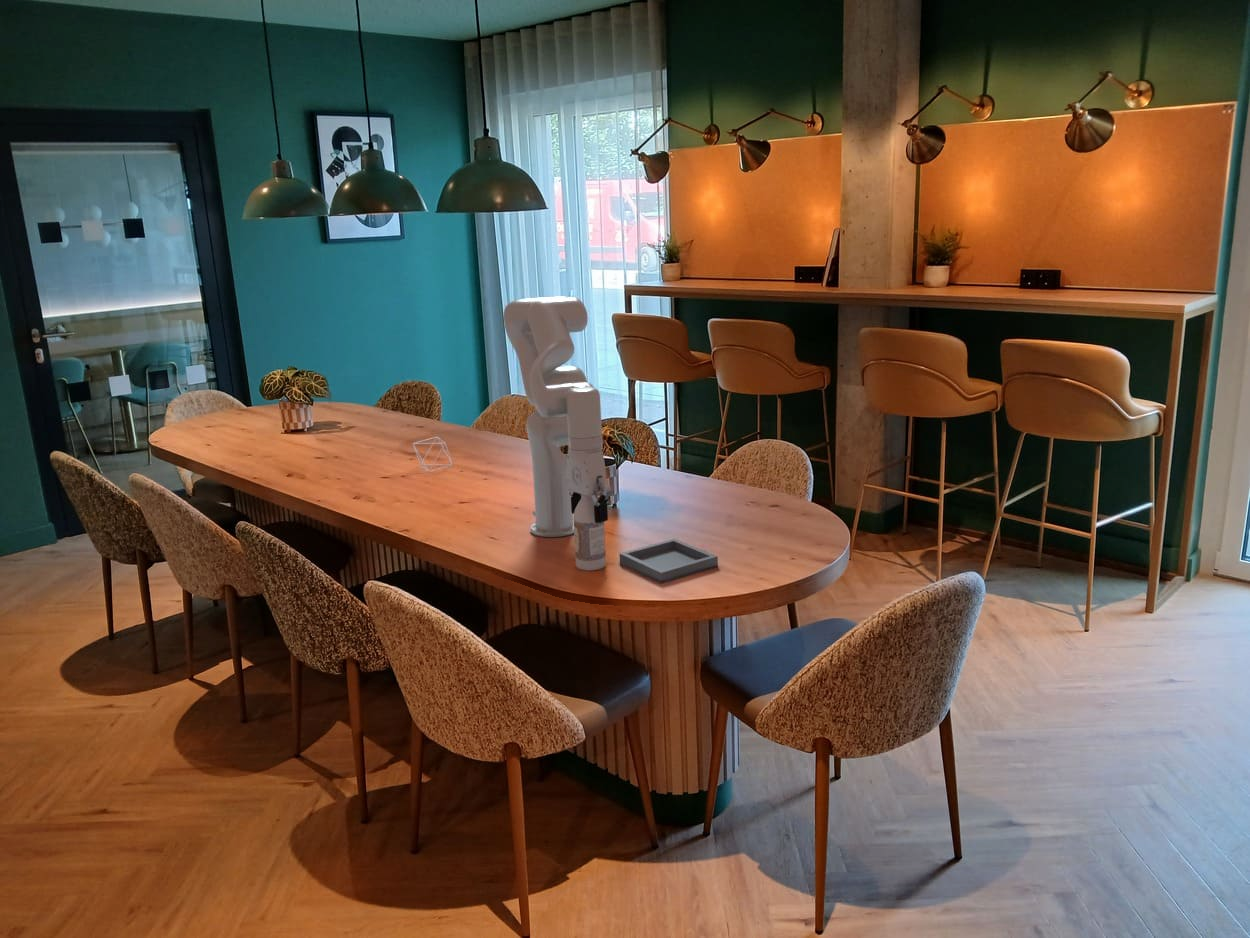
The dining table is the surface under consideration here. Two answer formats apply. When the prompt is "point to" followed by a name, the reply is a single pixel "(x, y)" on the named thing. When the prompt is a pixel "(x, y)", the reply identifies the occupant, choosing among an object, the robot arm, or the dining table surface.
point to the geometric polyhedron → (428, 451)
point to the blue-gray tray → (668, 560)
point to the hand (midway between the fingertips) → (589, 517)
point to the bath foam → (588, 536)
